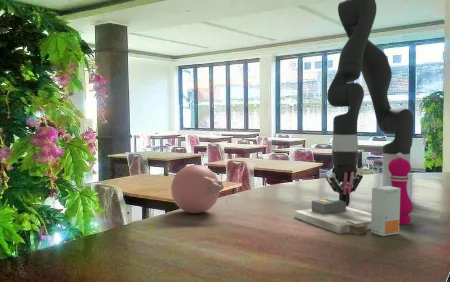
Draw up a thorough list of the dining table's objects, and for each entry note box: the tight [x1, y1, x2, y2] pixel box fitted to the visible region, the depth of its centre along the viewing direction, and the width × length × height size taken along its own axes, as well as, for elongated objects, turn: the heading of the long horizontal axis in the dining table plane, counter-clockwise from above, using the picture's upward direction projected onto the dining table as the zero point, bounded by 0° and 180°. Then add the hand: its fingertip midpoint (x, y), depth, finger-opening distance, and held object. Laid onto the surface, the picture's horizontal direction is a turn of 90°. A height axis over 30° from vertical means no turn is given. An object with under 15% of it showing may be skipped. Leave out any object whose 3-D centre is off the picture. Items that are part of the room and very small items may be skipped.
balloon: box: [170, 164, 224, 214], centre depth 132 cm, size 15×20×15 cm
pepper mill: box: [388, 153, 413, 226], centre depth 120 cm, size 7×7×20 cm
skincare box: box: [370, 186, 400, 237], centre depth 108 cm, size 6×4×12 cm
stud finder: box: [311, 197, 347, 214], centre depth 126 cm, size 8×6×3 cm
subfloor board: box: [294, 206, 372, 236], centre depth 120 cm, size 18×23×2 cm
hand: (344, 205), depth 128 cm, fingers closed
